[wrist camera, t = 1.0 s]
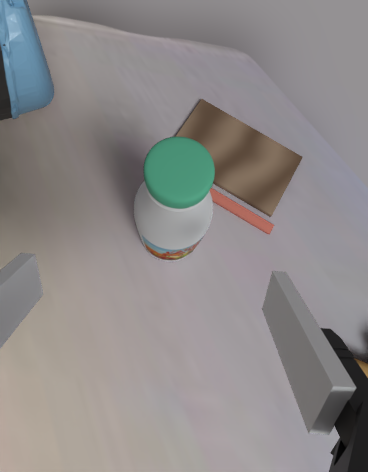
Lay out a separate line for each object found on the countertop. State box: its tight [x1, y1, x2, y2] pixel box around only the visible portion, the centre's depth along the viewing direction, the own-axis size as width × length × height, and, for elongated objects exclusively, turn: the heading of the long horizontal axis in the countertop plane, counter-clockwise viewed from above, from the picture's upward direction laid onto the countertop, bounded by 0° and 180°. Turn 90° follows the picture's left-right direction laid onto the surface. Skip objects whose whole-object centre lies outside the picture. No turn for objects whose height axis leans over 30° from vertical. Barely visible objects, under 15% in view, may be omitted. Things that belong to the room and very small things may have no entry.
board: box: [176, 99, 302, 216], centre depth 38 cm, size 18×11×1 cm, turn 59°
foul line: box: [210, 188, 274, 234], centre depth 37 cm, size 20×2×1 cm, turn 59°
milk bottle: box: [134, 137, 215, 262], centre depth 26 cm, size 8×8×20 cm
